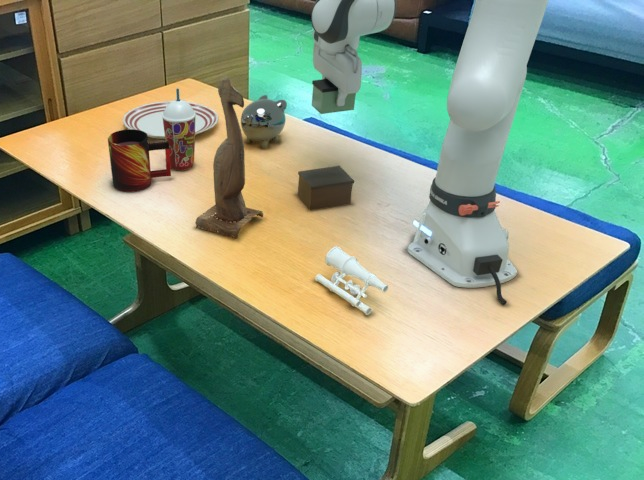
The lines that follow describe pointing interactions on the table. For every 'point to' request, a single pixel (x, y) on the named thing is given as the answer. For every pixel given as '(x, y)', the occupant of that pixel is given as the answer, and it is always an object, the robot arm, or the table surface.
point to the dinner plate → (152, 121)
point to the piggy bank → (263, 120)
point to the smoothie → (180, 133)
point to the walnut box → (325, 187)
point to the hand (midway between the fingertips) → (333, 99)
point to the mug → (134, 160)
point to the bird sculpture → (228, 173)
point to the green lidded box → (329, 97)
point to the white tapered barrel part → (352, 268)
